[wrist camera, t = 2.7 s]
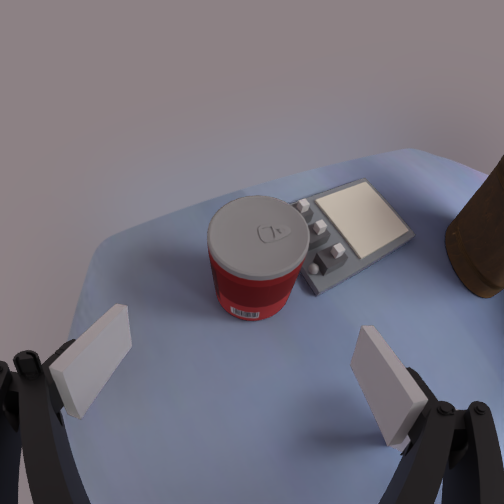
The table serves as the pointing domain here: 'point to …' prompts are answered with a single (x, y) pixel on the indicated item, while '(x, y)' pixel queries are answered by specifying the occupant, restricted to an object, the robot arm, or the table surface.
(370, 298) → the table surface
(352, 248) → the breaker board
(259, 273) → the canned food
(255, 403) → the table surface
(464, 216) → the wooden container
